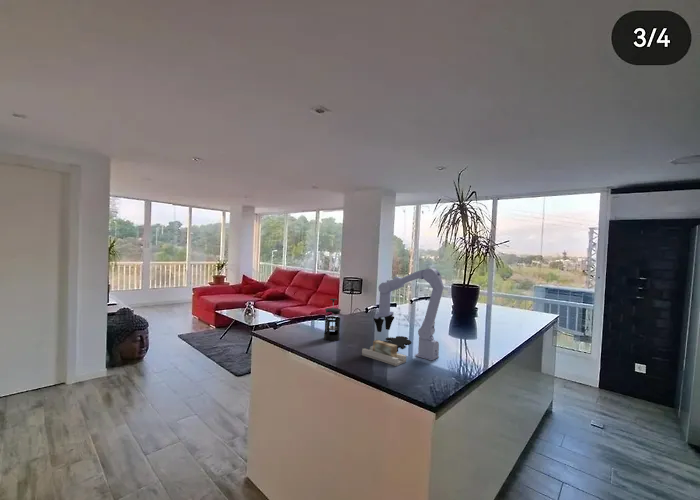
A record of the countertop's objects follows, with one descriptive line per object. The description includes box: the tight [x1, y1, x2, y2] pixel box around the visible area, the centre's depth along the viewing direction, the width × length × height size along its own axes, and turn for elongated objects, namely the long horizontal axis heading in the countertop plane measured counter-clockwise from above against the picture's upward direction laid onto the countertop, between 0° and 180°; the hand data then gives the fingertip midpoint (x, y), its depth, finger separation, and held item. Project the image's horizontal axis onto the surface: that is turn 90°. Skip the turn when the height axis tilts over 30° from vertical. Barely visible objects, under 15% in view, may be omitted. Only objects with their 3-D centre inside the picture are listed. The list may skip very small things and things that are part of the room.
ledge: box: [361, 345, 407, 367], centre depth 156 cm, size 20×8×3 cm, turn 48°
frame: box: [372, 339, 398, 358], centre depth 156 cm, size 12×3×6 cm, turn 48°
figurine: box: [382, 335, 412, 353], centre depth 183 cm, size 16×1×30 cm
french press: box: [323, 298, 341, 342], centre depth 187 cm, size 12×9×23 cm
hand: (383, 330), depth 173 cm, fingers open, 7 cm apart
